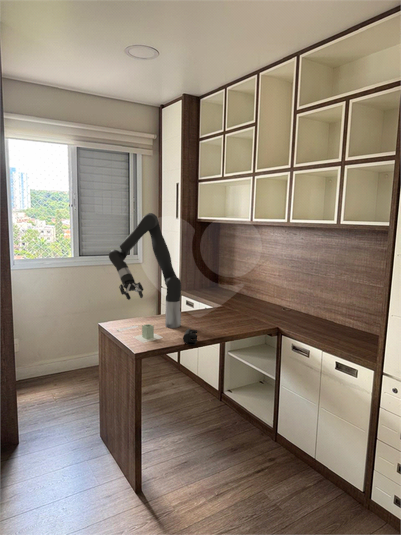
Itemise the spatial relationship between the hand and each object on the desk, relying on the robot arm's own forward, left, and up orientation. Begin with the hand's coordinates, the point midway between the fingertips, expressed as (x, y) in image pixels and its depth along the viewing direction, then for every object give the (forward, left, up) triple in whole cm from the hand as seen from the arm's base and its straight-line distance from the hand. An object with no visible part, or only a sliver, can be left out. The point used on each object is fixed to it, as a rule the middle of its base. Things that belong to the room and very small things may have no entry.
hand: (135, 298), depth 217 cm
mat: (-1, -6, -22) cm, 23 cm away
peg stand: (0, +13, -22) cm, 26 cm away
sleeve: (0, +13, -21) cm, 24 cm away
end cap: (-17, +31, -23) cm, 42 cm away
